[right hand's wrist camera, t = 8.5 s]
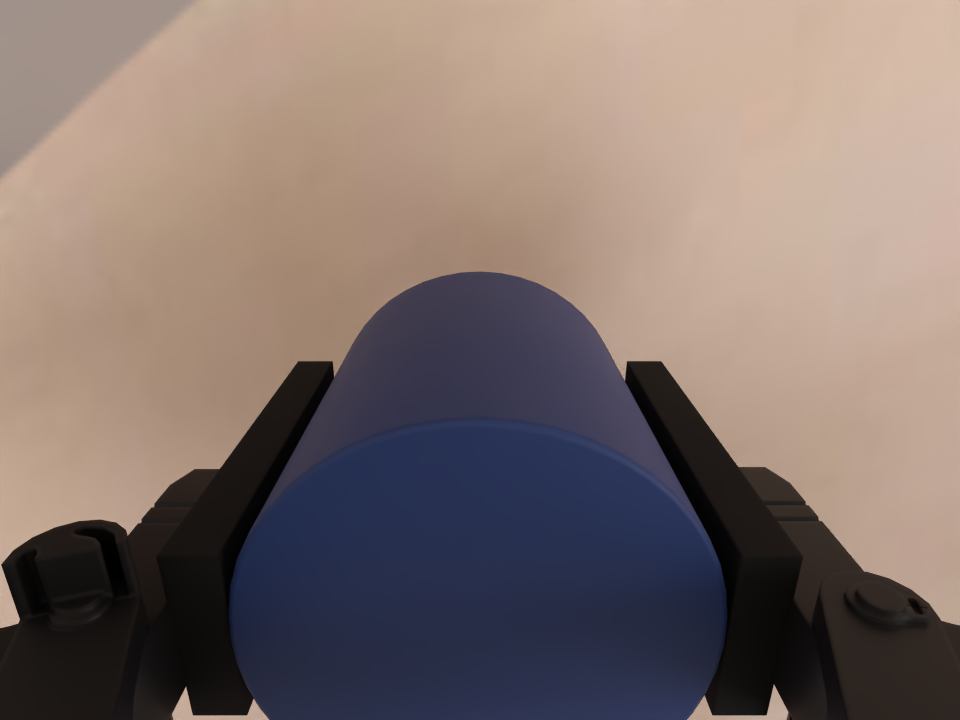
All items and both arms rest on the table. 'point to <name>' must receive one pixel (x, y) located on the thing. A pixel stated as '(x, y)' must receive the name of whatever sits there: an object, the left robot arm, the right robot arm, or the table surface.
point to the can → (478, 531)
